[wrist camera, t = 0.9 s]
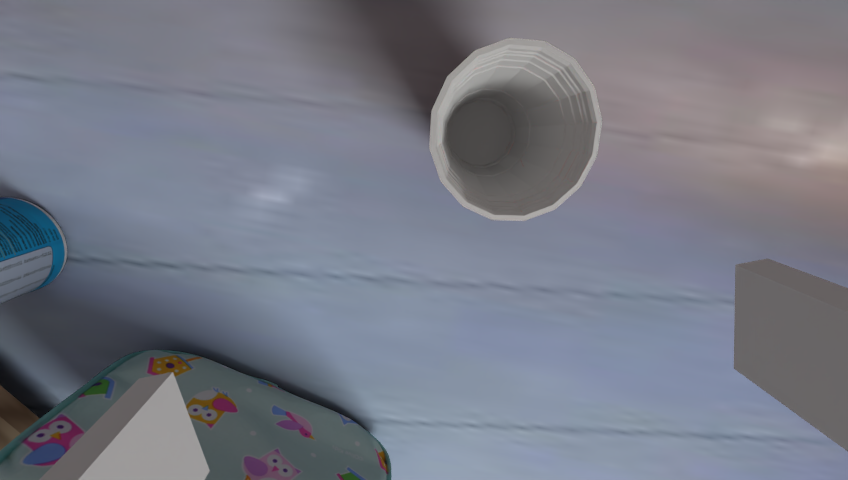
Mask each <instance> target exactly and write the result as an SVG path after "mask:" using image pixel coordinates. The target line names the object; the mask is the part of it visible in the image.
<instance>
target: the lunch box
mask: <svg viewBox="0 0 848 480" xmlns="http://www.w3.org/2000/svg"><path fill="white" fill-rule="evenodd" d="M170 372H173V374H174V376H175V379H176V382H177V384H178V387H179V390H180V392H181V395H182V398H183V400H184V403H185V406H186V408H187V411H188V414H189V416H190V419H191V422H192V425H193V427H194V430H195V433H196V435H197V438H198V441H199V443H200V446H201V449H202V451H203V454H204V457H205V459H206V462H207V465H208V467H209V470H210V471H209V473H208V475H207V476H206V478H205V480H391V463H390V459H389V456H388V453H387V451H386V450H385V448H384V447H383V446H382V444H381V443H380V442H379V441H378V440H377V439H376V438H375V437H374V436H372V435H371V434H370V433H369V432H367V431H366V430H365V429H363V428H362V427H361V426H360V425H358V424H357V423H356V422H354V421H353V420H351V419H349V418H348V417H346V416H343V415H341V414H339V413H337V412H335V411H333V410H330V409H328V408H325V407H323V406H321V405H318V404H315V403H313V402H310V401H308V400H305V399H303V398H300V397H298V396H295V395H293V394H291V393H289V392H287V391H285V390H283V389H281V388H279V387H278V386H277V384H274V383H272V382H269V381H266V380H264V379H259V378H255V377H252V376H249V375H246V374H243V373H240V372H238V371H236V370H233V369H231V368H228V367H226V366H224V365H221V364H219V363H217V362H214V361H212V360H209V359H207V358H204V357H201V356H198V355H194V354H189V353H184V352H178V351H170V350H147V351H139V352H135V353H132V354H129V355H127V356H124V357H123V358H121V359H119V360H118V361H116V362H114V363H113V364H112V365H110V366H109V367H107V368H106V369H105V370H103V371H102V372H101V373H99V374H98V375H97V376H95V377H94V378H93V379H91V380H90V381H89V382H88V383H87V384H85V385H84V386H83V387H81V388H80V389H79V390H77V391H76V392H75V393H73V394H72V395H70V396H69V397H68V398H66V399H65V400H64V401H62V402H61V403H60V404H58V405H57V406H56V407H54V408H53V409H52V410H50V411H49V412H48V413H46V414H45V415H44V416H42V417H41V418H40V419H39V420H37V421H36V422H35V423H34V424H32V425H31V426H30V427H28V428H27V429H26V430H25V431H23V432H22V433H21V434H19V435H18V436H17V437H16V438H15V439H13V440H12V441H11V442H10V443H9V444H7V445H6V446H5V447H4V448H3V449H1V450H0V480H39V479H40V478H41V477H42V476H43V475H44V474H45V473H46V472H47V471H48V470H49V469H50V468H51V467H52V466H53V465H54V464H55V463H56V462H57V461H58V460H59V459H60V458H61V457H62V456H63V455H64V454H65V453H66V452H67V451H68V450H69V449H70V448H71V447H72V446H73V445H74V444H75V443H76V442H77V441H78V440H79V439H80V438H81V437H82V436H83V435H84V434H85V433H86V432H87V431H88V430H89V429H90V428H91V427H92V426H93V425H94V424H95V423H96V422H97V421H98V420H99V419H100V418H101V417H102V416H103V415H104V414H105V413H106V412H107V411H108V409H109V408H110V407H111V406H112V405H113V404H114V403H115V402H116V401H117V400H118V399H119V398H120V397H121V396H122V395H123V394H124V393H125V392H126V391H127V390H128V389H129V388H130V387H131V386H132V385H133V384H134V383H135V382H136V381H137V380H138V379H139V378H144V377H149V376H154V375H159V374H165V373H170Z"/></svg>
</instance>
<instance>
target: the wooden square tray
mask: <svg viewBox="0 0 848 480" xmlns="http://www.w3.org/2000/svg"><path fill="white" fill-rule="evenodd" d="M39 419H40V418H38V417H37V416H36V415H35V414H34V413H33V412H31V411H30V410H29V409H28V408H27V407H25V406H24V405H23V404H22V403H21V402H20V401H18V400H17V399H16V398H15V397H14V396H12V395H11V394H10V393H9V392H8V391H7V390H5V389H4V388H3V387H2V386H1V385H0V450H1V449H3V448H4V447H5V446H6V445H7V444H9V443H10V442H11V441H12V440H13V439H15V438H16V437H17V436H18V435H19V434H21V433H22V432H23V431H25V430H26V429H27V428H28V427H30V426H31V425H32V424H34V423H35V422H36V421H37V420H39Z"/></svg>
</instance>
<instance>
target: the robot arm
mask: <svg viewBox="0 0 848 480" xmlns="http://www.w3.org/2000/svg"><path fill="white" fill-rule="evenodd" d="M734 369H735V370H737V371H738V372H739V373H741V374H742V375H744V376H745V377H746V378H748V379H749V380H750V381H752V382H753V383H755V384H756V385H757V386H759V387H760V388H761V389H763V390H764V391H766V392H767V393H768V394H770V395H771V396H772V397H774V398H775V399H777V400H778V401H779V402H781V403H782V404H783V405H785V406H786V407H788V408H789V409H790V410H792V411H793V412H794V413H796V414H797V415H798V416H800V417H801V418H803V419H804V420H805V421H807V422H808V423H809V424H811V425H812V426H814V427H815V428H816V429H818V430H819V431H820V432H822V433H823V434H825V435H826V436H827V437H829V438H830V439H831V440H833V441H834V442H836V443H837V444H838V445H840V446H841V447H842V448H844V449H845V450H847V451H848V288H846V287H843V286H840V285H838V284H835V283H832V282H829V281H827V280H824V279H821V278H819V277H816V276H813V275H811V274H808V273H805V272H802V271H800V270H797V269H794V268H792V267H789V266H786V265H783V264H781V263H778V262H775V261H773V260H770V259H763V260H758V261H752V262H747V263H742V264H737V265H736V267H735V328H734ZM209 471H210V470H209V467H208V465H207V462H206V459H205V457H204V454H203V451H202V449H201V446H200V443H199V441H198V438H197V435H196V433H195V430H194V427H193V425H192V422H191V419H190V416H189V414H188V411H187V408H186V406H185V403H184V400H183V398H182V395H181V392H180V390H179V387H178V384H177V382H176V379H175V376H174V374H173V372H170V373H165V374H159V375H154V376H149V377H144V378H139V379H138V380H137V381H136V382H135V383H134V384H133V385H132V386H131V387H130V388H129V389H128V390H127V391H126V392H125V393H124V394H123V395H122V396H121V397H120V398H119V399H118V400H117V401H116V402H115V403H114V404H113V405H112V406H111V407H110V408H109V409H108V411H107V412H106V413H105V414H104V415H103V416H102V417H101V418H100V419H99V420H98V421H97V422H96V423H95V424H94V425H93V426H92V427H91V428H90V429H89V430H88V431H87V432H86V433H85V434H84V435H83V436H82V437H81V438H80V439H79V440H78V441H77V442H76V443H75V444H74V445H73V446H72V447H71V448H70V449H69V450H68V451H67V452H66V453H65V454H64V455H63V456H62V457H61V458H60V459H59V460H58V461H57V462H56V463H55V464H54V465H53V466H52V467H51V468H50V469H49V470H48V471H47V472H46V473H45V474H44V475H43V476H42V477H41V478H40V479H39V480H205V478H206V476H207V475H208V473H209Z"/></svg>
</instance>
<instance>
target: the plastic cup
mask: <svg viewBox="0 0 848 480" xmlns="http://www.w3.org/2000/svg"><path fill="white" fill-rule="evenodd" d="M601 126H602V118H601V114H600V109H599V104H598V100H597V95H596V91H595V87H594V85H593V84H592V83H591V81H590V80H589V78H588V77H587V75H586V74H585V73H584V71H583V70H582V68H581V67H580V65H579V64H578V63H577V61H576V60H575V58H573V57H571V56H570V55H568V54H566V53H564V52H563V51H561V50H559V49H558V48H556V47H554V46H552V45H551V44H549V43H547V42H546V41H540V40H528V39H517V38H508V39H505V40H502V41H499V42H497V43H494V44H491V45H488V46H485V47H483V48H480V49H477V50H475V51H474V52H473V53H472V54H470V55H469V56H468V57H467V58H466V59H465V60H464V61H463V62H462V63H461V64H460V65H459V66H458V67H457V68H456V69H455V70H453V71H452V72H451V73H450V74H449V75H448V76H447V78H446V80H445V82H444V85H443V87H442V89H441V91H440V93H439V95H438V98H437V100H436V102H435V104H434V106H433V108H432V111H431V127H430V145H429V148H430V151H431V154H432V157H433V160H434V163H435V166H436V169H437V172H438V175H439V178H440V181H441V182H442V183H443V185H444V186H445V187H446V188H447V189H448V190H449V191H450V193H451V194H452V195H453V196H454V197H455V198H456V199H457V200H458V202H459V203H460V204H461V205H462V206H463V207H465V208H467V209H469V210H472V211H474V212H476V213H478V214H480V215H482V216H484V217H487V218H489V219H491V220H506V221H526V220H528V219H531V218H534V217H536V216H539V215H542V214H544V213H547V212H550V211H552V210H555V209H556V208H557V207H558V206H560V205H561V204H562V203H563V202H564V201H565V200H566V199H567V198H569V197H570V196H571V195H572V194H573V193H574V192H575V191H576V190H578V189H579V188H580V187H581V185H582V183H583V181H584V179H585V178H586V176H587V174H588V172H589V170H590V168H591V167H592V165H593V163H594V161H595V159H596V157H597V153H598V147H599V140H600V133H601Z"/></svg>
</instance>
